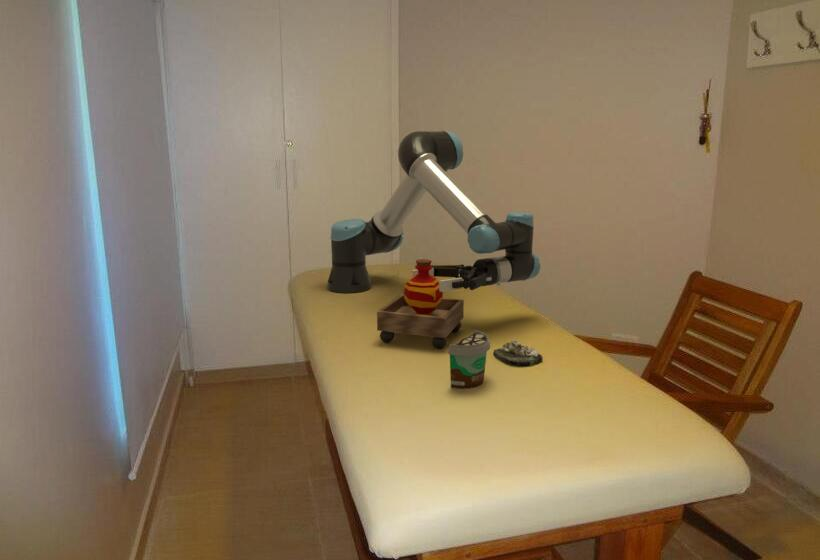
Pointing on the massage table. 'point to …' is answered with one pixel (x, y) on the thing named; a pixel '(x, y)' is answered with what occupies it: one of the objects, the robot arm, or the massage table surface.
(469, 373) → the food container
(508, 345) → the grey lumpy piece
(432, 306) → the potion bottle
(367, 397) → the massage table surface
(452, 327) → the dolly
